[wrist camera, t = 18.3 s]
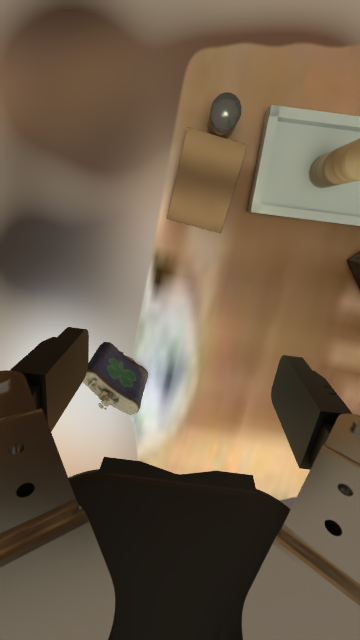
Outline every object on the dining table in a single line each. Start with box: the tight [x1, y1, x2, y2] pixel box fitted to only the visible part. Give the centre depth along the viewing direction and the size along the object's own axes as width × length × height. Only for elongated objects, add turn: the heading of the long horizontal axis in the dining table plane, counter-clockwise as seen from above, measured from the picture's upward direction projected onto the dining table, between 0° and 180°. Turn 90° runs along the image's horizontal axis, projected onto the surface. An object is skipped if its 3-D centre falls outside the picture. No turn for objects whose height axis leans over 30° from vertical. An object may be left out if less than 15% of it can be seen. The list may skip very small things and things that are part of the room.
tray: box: [247, 105, 360, 226], centre depth 35 cm, size 11×16×2 cm
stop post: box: [208, 93, 241, 139], centre depth 32 cm, size 3×3×6 cm
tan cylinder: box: [309, 138, 360, 188], centre depth 31 cm, size 4×4×9 cm
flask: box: [83, 342, 148, 414], centre depth 42 cm, size 9×3×11 cm, turn 49°
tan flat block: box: [167, 127, 247, 233], centre depth 36 cm, size 10×7×3 cm
